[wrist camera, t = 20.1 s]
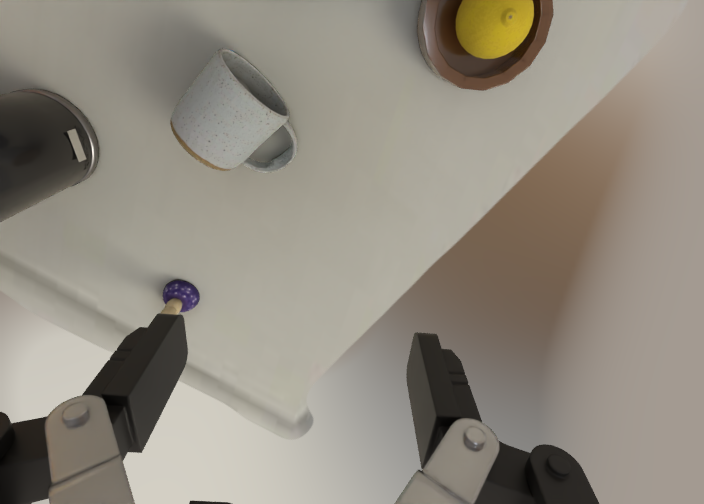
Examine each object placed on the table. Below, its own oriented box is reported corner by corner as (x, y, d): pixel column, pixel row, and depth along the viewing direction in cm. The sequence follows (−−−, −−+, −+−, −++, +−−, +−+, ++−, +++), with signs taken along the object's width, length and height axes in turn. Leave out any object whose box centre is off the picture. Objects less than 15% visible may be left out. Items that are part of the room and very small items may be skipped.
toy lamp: (205, 310, 50) (145, 423, 35) (168, 314, 50) (93, 427, 36) (194, 278, 48) (125, 383, 33) (156, 281, 48) (70, 388, 33)
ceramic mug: (181, 110, 39) (147, 127, 32) (233, 44, 36) (208, 47, 30) (265, 185, 43) (250, 213, 36) (318, 130, 40) (313, 149, 33)
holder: (408, 79, 38) (413, 83, 35) (428, -57, 33) (437, -67, 30) (515, 91, 38) (530, 95, 35) (551, -42, 34) (571, -50, 31)
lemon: (487, -33, 33) (525, -53, 26) (522, 25, 35) (566, 21, 28) (433, 19, 35) (455, 13, 28) (469, 71, 37) (498, 78, 30)
